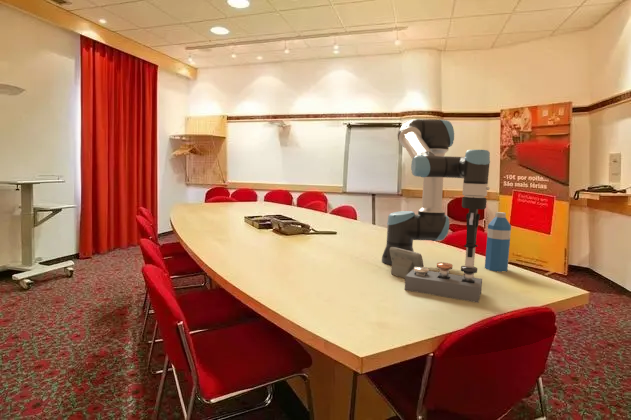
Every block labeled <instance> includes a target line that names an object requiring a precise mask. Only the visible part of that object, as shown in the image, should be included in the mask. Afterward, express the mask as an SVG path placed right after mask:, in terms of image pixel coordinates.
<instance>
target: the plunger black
mask: <svg viewBox="0 0 631 420" xmlns="http://www.w3.org/2000/svg"><path fill="white" fill-rule="evenodd" d="M478 269H479V268H478V267H476V266H474V267H469V266H465V265H461V266H460V271H461V272H462V273H463V275H462V276H463V282H468V283H473V279H474V278H475V275H474V274H476V273H478Z"/></svg>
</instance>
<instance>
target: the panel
mask: <svg viewBox="0 0 631 420" xmlns="http://www.w3.org/2000/svg"><path fill="white" fill-rule="evenodd" d="M413 270H414V269H413ZM413 270H412V271H410V272H409V273H408V274H407V275H406V276H405V278H404V280H405V281H404V290H405V291H408V292H409V291H410V292H416V293H421V294H425V295H426V294H427V295H433V296H438V297H444V298H449V299H455V300H462V301H466V302H467V301H468V302H472V303H479V301H480V298H481V294H482V286H483V278H482V277H481V278H479V277H474V279H473V283H468V282H463V276H464V275H459V274H452V273H449V279H441V278H439V271H433V270H429V271H428V273H426V274H425V276H422V275H416V272H414V271H413Z"/></svg>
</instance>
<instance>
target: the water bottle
mask: <svg viewBox="0 0 631 420" xmlns="http://www.w3.org/2000/svg"><path fill="white" fill-rule="evenodd" d="M506 214H507V213H506V212H501V211H496V212H495V214H494V215H495V217H494V218H492V220H491V221H489V223H488V225H487V235H486V245H485V246H486V247H485V248H486V249H485V258H484V259H485V260H484V261H485V262H484V269H485V268H486V270H487V271H491V272H492V271H493V272H497V271H498V273H502V271H506V272H507V271H508V270H509V269H508V268H509V257H510V256H509V255H510V246H511V245H510V244H511V243H510V242H511V233H512V225H511V224H510V222H509V220H508V219H507V217H506V216H507V215H506Z"/></svg>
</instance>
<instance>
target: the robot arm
mask: <svg viewBox="0 0 631 420" xmlns="http://www.w3.org/2000/svg"><path fill="white" fill-rule="evenodd" d="M397 140H398V143H399V145H400V146H401V147H402V148H405V149H406V152H407V153H408V155H409V156H410V159H411V165H410V166H411V167H410V169H411V174H412V175H413V176H414V177H418V178H419V177H421V178H422V180H423V181H422V198H421V199H422V200H421V208H419V209H418V211H417V214H415V211H411V210H407V211H406V210H402V211H394V212H391V213H389V214H388V217H387V223H386V225H387V228H386V229H387V230H386V231H387V232H386V244H385V247H384V250H383V253H382V255H381V262H382V263H383V264H386V265H390V266H392V260H391V256H390V248H391V247H396V248H400V249H404V250H408V251H412V252H415V251H414V247H413V242H414V241H432V242H436V241H437V242H439V241H443V240H445V238H446V237H447V236H448V233H449V228H450V219H449V218H450V217H449V216H448V215H446V211H445V210H444V209H443V207H442V206H443V189H444V178H447V179H448V178H449V179H450V178H452V179H453V178H454V179H463V183H462V198H461V208H463V209H468V213H466V214H465V215H466V217H465V219H466V224H465V225H466V239H465V240H466V241H465V242H466V243H465V244H464V245H463V247H464V248H465V260H464V263H465V264H464V266H469V267H475V258H476V247H477V248H478V244H477V235H478V228H479V222H480V221H479V220H480V218H481V214H480V213H479V210H485V209H486V208H487V195H488V191H489V190H490V187H489V186H488V184H489V173H490V164H491V160H490V158H491V157H490V156H491V155H490V151H489V150H488V149H467V150H466V151H465V155H464V156H445V154H446V153H448V152H449V148H450V147H452V146H453V145H454V141H455V130H454V126H453V124H452V123H451V121H449V120H447V119H446V120H445V119H430V118H429V119H426V118H425V119H421V118H416V119H411V120H408V121H406V122H404V123H403V124H402V125H401V126H400V128H399V129H398V132H397Z"/></svg>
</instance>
